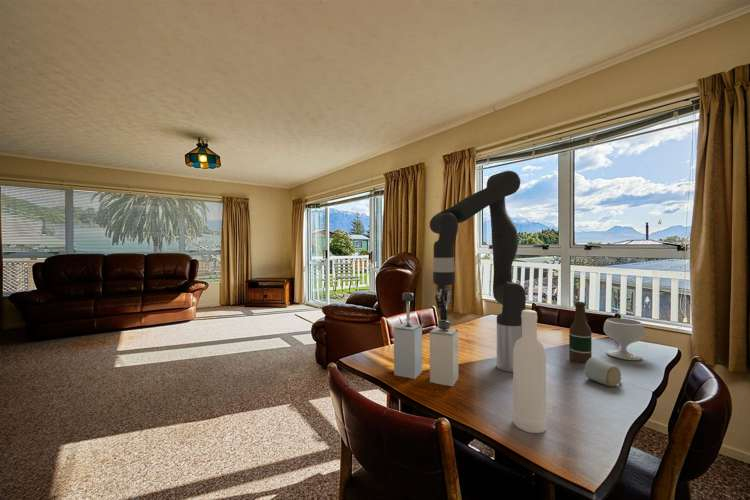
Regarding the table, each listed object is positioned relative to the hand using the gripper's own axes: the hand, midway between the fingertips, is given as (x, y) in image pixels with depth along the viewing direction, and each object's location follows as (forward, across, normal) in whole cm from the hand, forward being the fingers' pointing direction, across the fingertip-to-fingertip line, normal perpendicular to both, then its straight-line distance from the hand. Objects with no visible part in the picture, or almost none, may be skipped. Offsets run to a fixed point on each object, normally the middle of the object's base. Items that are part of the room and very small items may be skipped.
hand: (443, 319), depth 112 cm
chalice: (+22, +58, -62) cm, 87 cm away
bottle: (+22, -18, -28) cm, 39 cm away
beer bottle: (+22, +43, -44) cm, 66 cm away
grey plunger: (+6, 0, +13) cm, 15 cm away
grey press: (+21, 0, +14) cm, 25 cm away
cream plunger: (+15, 0, 0) cm, 15 cm away
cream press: (+21, 0, 0) cm, 21 cm away
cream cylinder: (+22, +23, -50) cm, 59 cm away
